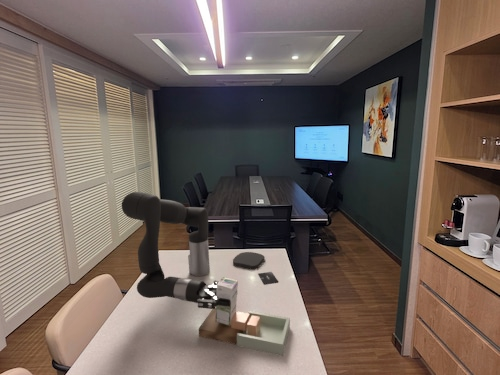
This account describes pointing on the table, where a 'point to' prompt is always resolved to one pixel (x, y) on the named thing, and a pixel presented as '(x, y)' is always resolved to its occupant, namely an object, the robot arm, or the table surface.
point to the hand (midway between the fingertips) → (233, 297)
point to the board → (218, 330)
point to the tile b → (253, 326)
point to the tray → (267, 334)
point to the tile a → (240, 320)
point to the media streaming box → (248, 260)
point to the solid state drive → (268, 278)
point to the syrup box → (226, 291)
